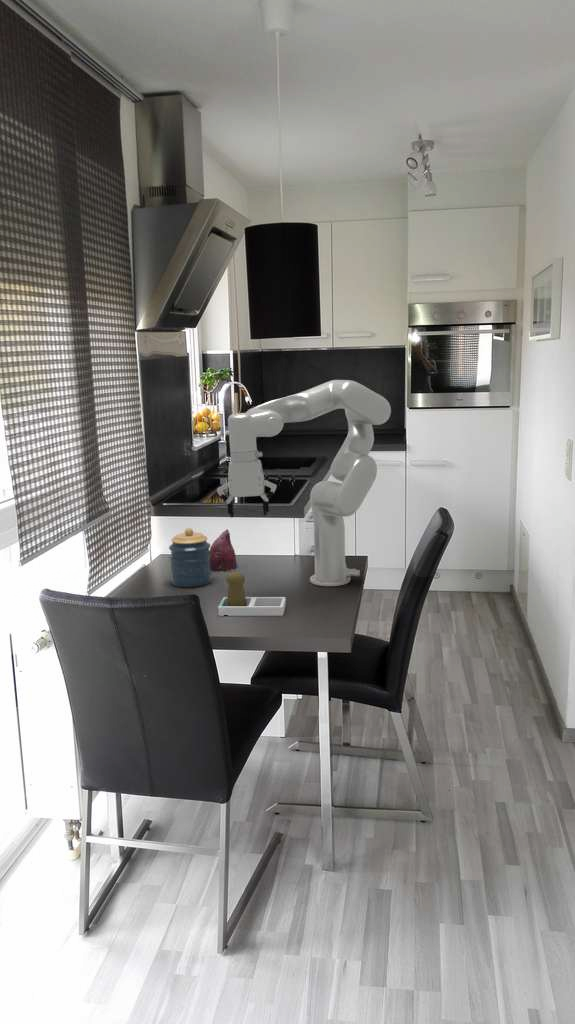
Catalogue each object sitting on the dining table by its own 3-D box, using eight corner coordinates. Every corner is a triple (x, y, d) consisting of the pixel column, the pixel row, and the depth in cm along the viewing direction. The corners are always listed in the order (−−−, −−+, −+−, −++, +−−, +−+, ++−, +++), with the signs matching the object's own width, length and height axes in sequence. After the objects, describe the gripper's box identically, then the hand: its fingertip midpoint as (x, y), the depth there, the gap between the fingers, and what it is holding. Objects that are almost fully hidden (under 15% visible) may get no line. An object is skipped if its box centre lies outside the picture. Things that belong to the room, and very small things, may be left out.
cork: (244, 614, 230) (242, 576, 227) (223, 613, 231) (221, 575, 229) (250, 607, 235) (248, 570, 233) (230, 606, 237) (228, 569, 234)
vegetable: (241, 574, 281) (251, 533, 277) (223, 578, 272) (234, 535, 268) (217, 563, 286) (227, 523, 282) (198, 567, 277) (209, 525, 273)
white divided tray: (285, 605, 236) (285, 596, 236) (283, 615, 227) (282, 607, 227) (223, 605, 238) (223, 597, 237) (218, 615, 229) (218, 607, 228)
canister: (192, 574, 271) (189, 521, 268) (220, 580, 263) (218, 526, 260) (162, 583, 262) (159, 529, 258) (191, 590, 253) (187, 534, 250)
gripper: (275, 453, 238) (279, 510, 242) (215, 456, 239) (220, 514, 243) (273, 457, 231) (277, 516, 235) (212, 461, 232) (217, 520, 236)
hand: (248, 515), depth 239 cm, fingers open, 9 cm apart
